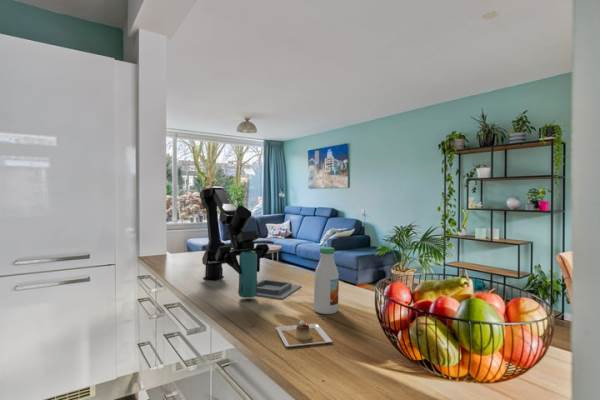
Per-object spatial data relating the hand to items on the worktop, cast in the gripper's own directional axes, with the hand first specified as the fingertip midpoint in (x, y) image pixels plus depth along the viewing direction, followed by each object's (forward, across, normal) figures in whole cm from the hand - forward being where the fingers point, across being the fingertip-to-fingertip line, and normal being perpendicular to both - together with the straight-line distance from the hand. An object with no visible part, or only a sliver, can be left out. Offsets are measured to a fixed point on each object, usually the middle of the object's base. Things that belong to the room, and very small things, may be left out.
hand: (249, 272), depth 113 cm
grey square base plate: (+1, +13, +12) cm, 18 cm away
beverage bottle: (+6, 0, +8) cm, 10 cm away
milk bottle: (+22, +17, -8) cm, 29 cm away
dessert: (+31, -1, -16) cm, 35 cm away
